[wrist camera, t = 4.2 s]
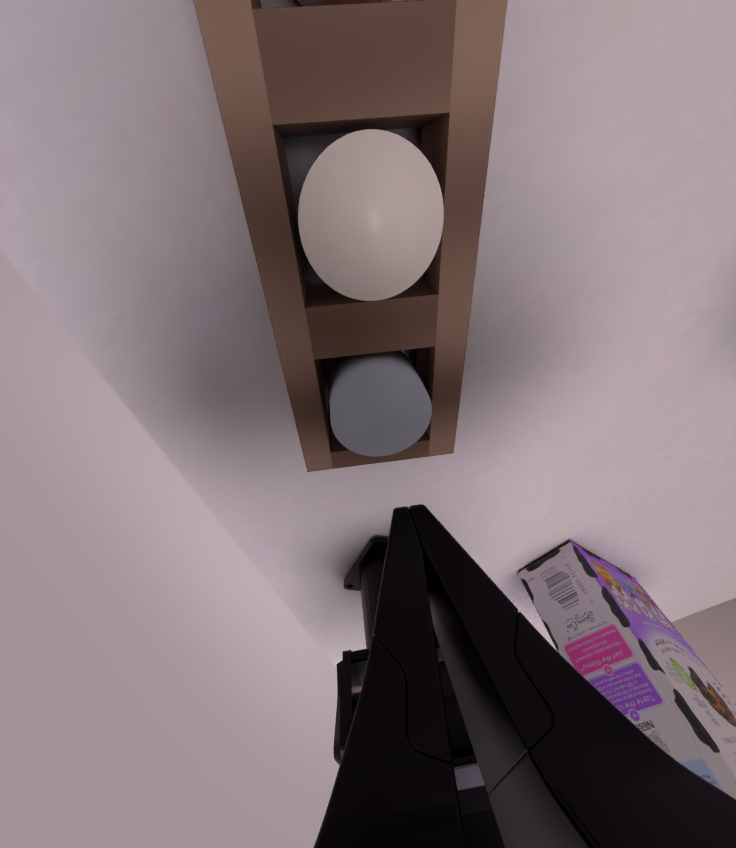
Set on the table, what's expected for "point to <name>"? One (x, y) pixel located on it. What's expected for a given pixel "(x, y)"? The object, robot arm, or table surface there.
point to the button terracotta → (336, 2)
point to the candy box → (636, 659)
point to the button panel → (349, 112)
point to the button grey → (378, 403)
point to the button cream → (370, 215)
